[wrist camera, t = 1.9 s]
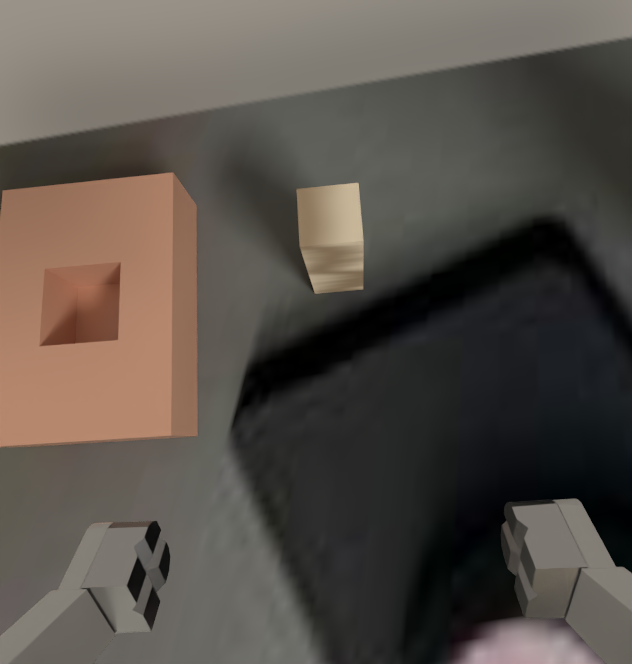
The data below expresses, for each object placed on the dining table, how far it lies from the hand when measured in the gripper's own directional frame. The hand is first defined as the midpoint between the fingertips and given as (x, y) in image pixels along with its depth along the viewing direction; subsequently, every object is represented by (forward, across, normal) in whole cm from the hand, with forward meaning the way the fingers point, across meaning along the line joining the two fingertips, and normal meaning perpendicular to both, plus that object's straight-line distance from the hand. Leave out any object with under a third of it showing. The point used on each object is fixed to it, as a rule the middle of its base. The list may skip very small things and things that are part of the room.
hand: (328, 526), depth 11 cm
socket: (+28, +19, +9) cm, 35 cm away
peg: (+30, 0, +7) cm, 31 cm away
